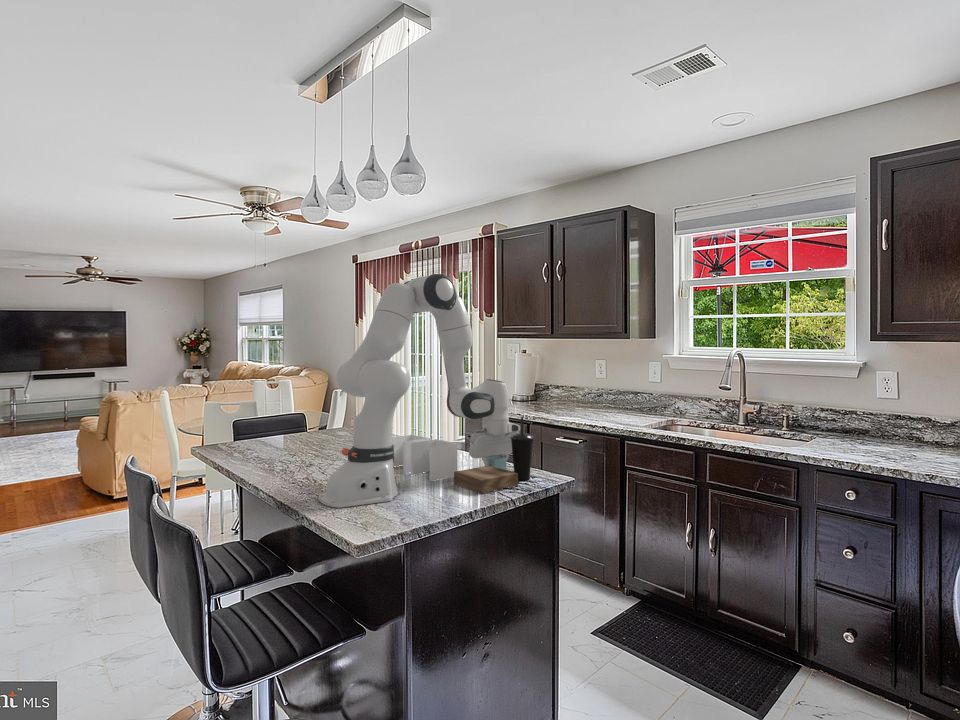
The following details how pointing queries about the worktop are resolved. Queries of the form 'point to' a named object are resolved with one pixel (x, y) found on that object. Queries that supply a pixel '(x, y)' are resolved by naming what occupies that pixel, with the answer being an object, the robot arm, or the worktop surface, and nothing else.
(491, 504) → the worktop surface
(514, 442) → the drinking cup
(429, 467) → the storage container
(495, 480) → the walnut base
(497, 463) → the teal cube
